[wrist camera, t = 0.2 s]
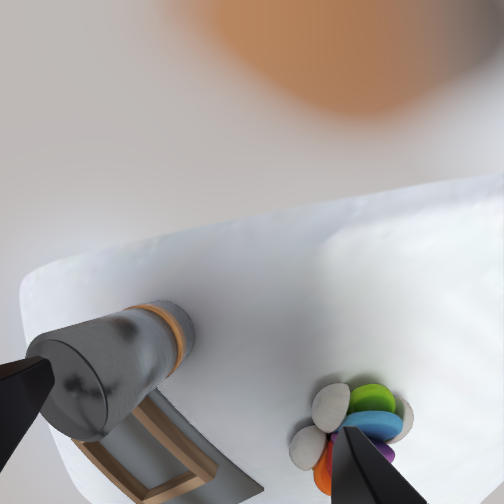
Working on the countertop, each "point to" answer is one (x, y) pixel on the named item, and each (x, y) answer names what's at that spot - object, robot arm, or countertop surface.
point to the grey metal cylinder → (110, 365)
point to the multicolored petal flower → (349, 414)
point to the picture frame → (166, 459)
